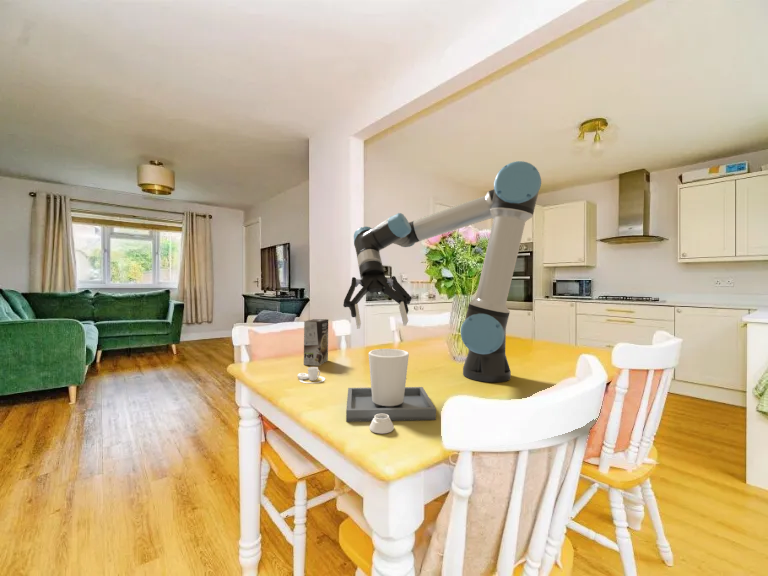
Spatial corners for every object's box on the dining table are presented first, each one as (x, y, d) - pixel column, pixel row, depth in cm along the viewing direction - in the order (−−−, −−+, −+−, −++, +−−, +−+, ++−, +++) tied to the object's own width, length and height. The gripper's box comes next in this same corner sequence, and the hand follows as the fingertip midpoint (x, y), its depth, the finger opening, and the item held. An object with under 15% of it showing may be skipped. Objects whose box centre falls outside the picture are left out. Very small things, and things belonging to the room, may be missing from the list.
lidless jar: (398, 431, 72) (383, 423, 76) (398, 417, 72) (383, 409, 76) (379, 437, 69) (364, 429, 72) (379, 423, 68) (365, 415, 72)
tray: (422, 396, 93) (422, 386, 93) (435, 419, 77) (436, 408, 77) (348, 397, 92) (348, 387, 92) (346, 421, 76) (346, 410, 76)
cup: (416, 405, 84) (417, 353, 83) (385, 415, 78) (386, 358, 77) (390, 394, 91) (391, 347, 91) (359, 402, 85) (360, 351, 85)
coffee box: (319, 366, 124) (320, 321, 124) (303, 365, 126) (303, 321, 125) (328, 360, 133) (329, 318, 133) (313, 359, 135) (313, 318, 134)
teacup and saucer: (293, 380, 108) (293, 367, 108) (315, 375, 114) (315, 363, 114) (307, 386, 102) (307, 372, 102) (330, 381, 107) (330, 368, 107)
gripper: (405, 273, 115) (421, 328, 102) (330, 276, 109) (337, 334, 96) (411, 258, 109) (428, 314, 97) (331, 259, 103) (339, 319, 90)
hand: (382, 324), depth 96 cm, fingers open, 13 cm apart
